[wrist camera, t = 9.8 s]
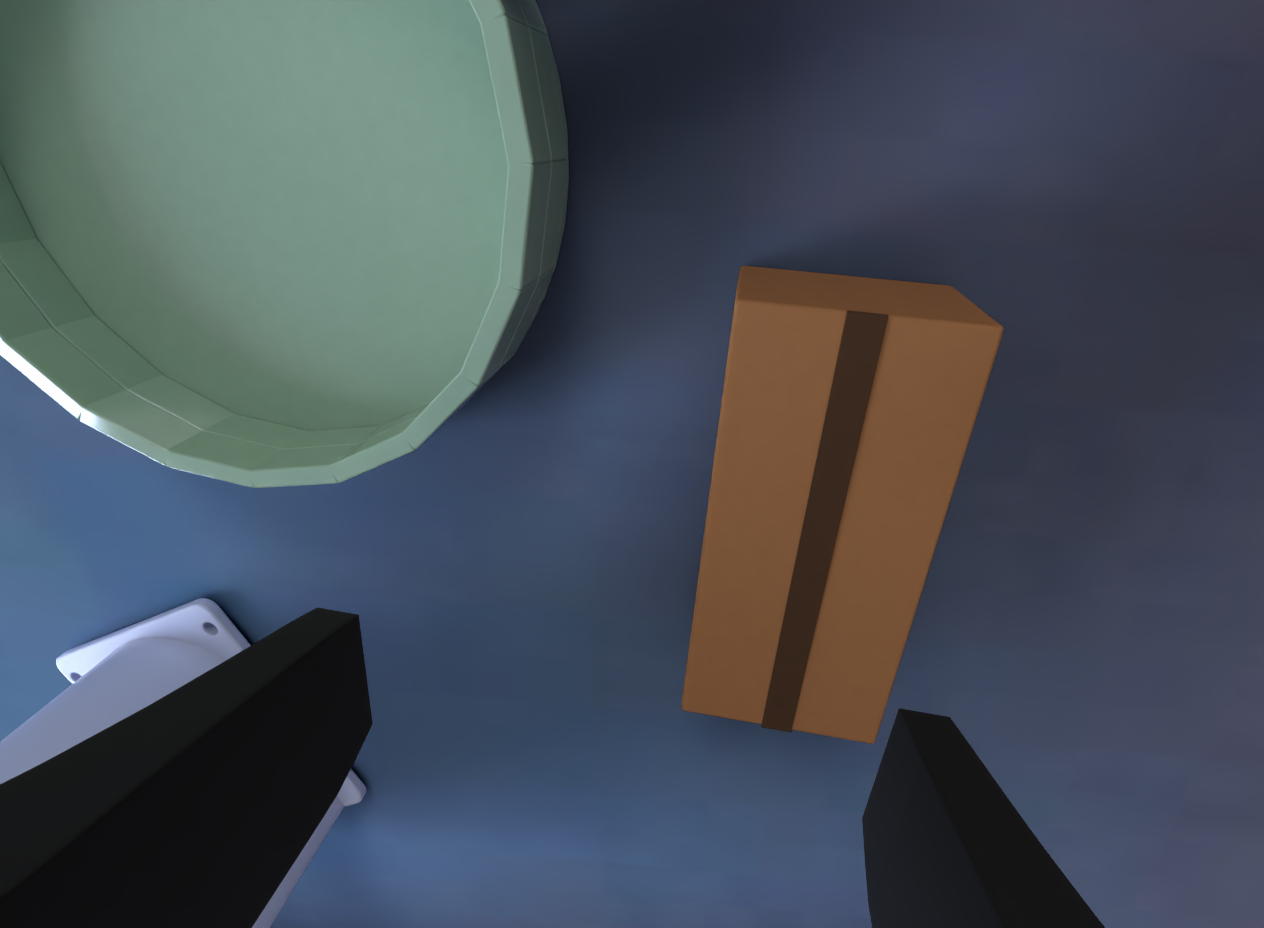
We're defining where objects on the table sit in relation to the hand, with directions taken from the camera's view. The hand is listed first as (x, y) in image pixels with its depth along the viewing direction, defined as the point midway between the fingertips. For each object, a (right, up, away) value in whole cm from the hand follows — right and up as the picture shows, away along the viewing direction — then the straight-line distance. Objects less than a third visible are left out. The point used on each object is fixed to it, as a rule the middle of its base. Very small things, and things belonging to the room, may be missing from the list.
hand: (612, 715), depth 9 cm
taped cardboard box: (+5, +3, +8) cm, 10 cm away
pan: (-8, +11, +7) cm, 15 cm away
